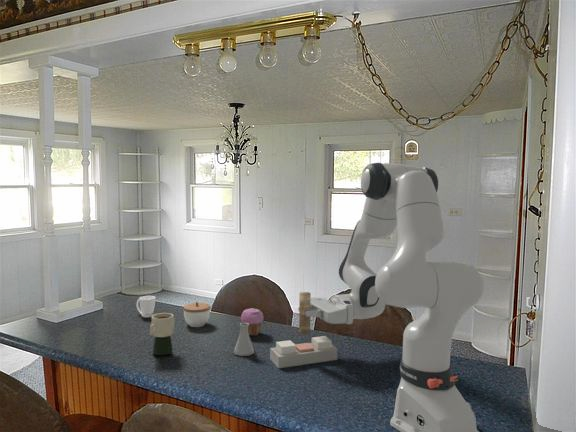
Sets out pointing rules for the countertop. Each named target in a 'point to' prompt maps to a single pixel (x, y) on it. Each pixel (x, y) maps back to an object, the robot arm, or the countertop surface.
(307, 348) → the terracotta key
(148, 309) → the cup
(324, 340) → the ivory key
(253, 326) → the cupcake
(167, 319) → the character mug
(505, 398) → the countertop surface
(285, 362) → the keypad bezel
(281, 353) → the ivory key
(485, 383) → the countertop surface
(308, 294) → the tan wooden cylinder
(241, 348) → the flask
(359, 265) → the robot arm
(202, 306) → the lidded jar
